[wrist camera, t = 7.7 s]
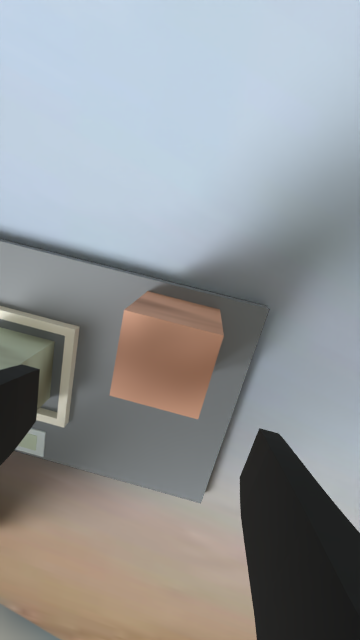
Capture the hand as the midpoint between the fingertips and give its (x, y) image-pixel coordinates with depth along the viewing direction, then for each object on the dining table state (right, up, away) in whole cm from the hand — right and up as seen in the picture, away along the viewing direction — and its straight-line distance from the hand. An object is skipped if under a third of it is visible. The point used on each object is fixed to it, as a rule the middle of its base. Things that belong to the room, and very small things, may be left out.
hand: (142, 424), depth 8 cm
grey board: (-5, -1, +10) cm, 12 cm away
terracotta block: (+1, +2, +8) cm, 8 cm away
